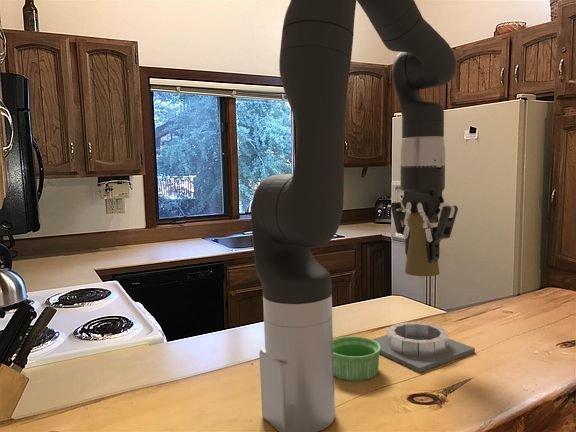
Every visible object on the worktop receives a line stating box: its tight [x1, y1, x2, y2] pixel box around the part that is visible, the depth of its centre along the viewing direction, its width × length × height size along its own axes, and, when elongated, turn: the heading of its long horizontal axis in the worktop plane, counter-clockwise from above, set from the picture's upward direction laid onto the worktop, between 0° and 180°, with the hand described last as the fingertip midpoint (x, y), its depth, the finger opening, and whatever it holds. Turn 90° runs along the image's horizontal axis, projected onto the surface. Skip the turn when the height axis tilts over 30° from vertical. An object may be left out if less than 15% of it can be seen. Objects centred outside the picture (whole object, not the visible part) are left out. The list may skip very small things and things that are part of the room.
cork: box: [404, 212, 441, 277], centre depth 83 cm, size 6×6×11 cm
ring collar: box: [386, 321, 449, 357], centre depth 85 cm, size 10×10×2 cm
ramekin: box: [333, 335, 381, 382], centre depth 77 cm, size 9×9×4 cm
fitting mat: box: [371, 334, 476, 374], centre depth 85 cm, size 14×14×1 cm
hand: (421, 260), depth 83 cm, fingers closed on cork, 4 cm apart
